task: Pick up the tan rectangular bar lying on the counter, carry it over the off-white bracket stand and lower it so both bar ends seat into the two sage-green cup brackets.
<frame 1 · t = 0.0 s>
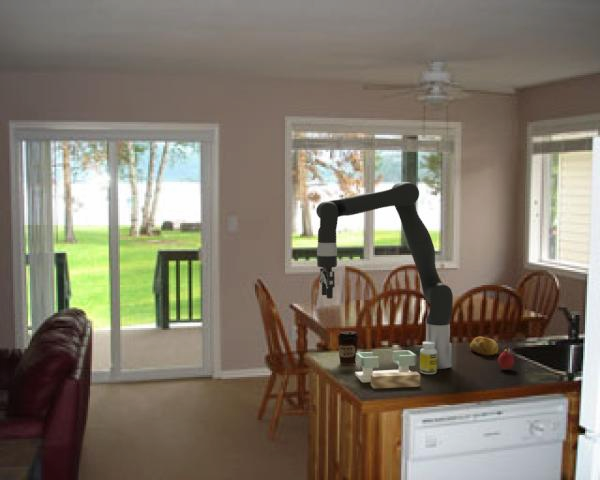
hand: (327, 296, 248), 29 cm above the counter, tool pointing down, fingers open, 8 cm apart
pill bottle: (428, 373, 249), on the counter
onion: (505, 370, 252), on the counter
bracket stand: (385, 377, 243), on the counter
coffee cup: (348, 364, 262), on the counter
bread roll: (483, 353, 280), on the counter
tan rectangular bar: (395, 386, 232), on the counter
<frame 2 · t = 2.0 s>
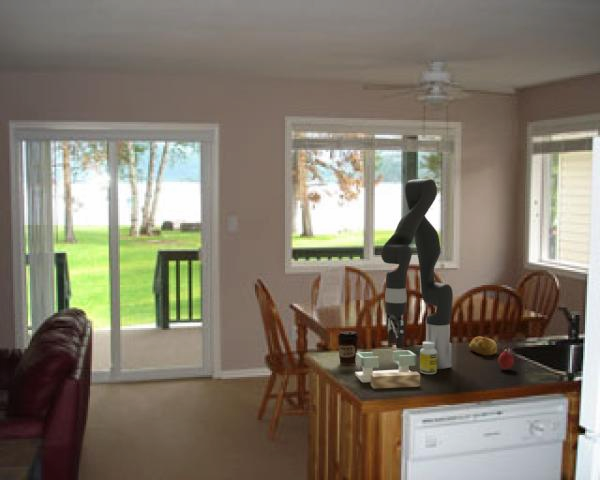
hand: (395, 345, 231), 14 cm above the counter, tool pointing down, fingers open, 8 cm apart
nothing on the counter moved.
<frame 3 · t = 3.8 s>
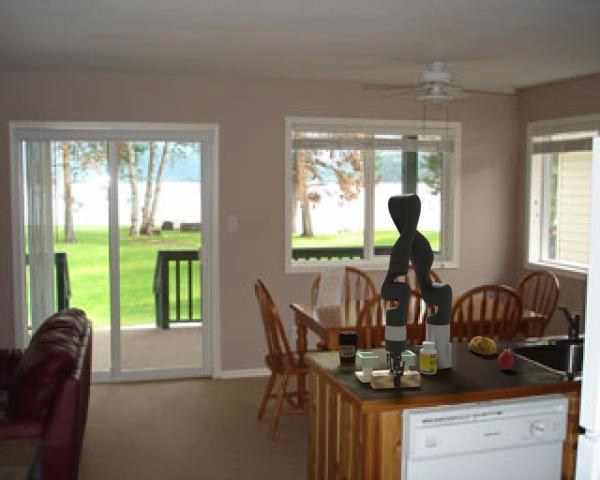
hand: (395, 384, 232), 0 cm above the counter, tool pointing down, fingers closed on tan rectangular bar, 4 cm apart
tan rectangular bar: (395, 385, 232), on the counter, touching gripper
everything else where it was.
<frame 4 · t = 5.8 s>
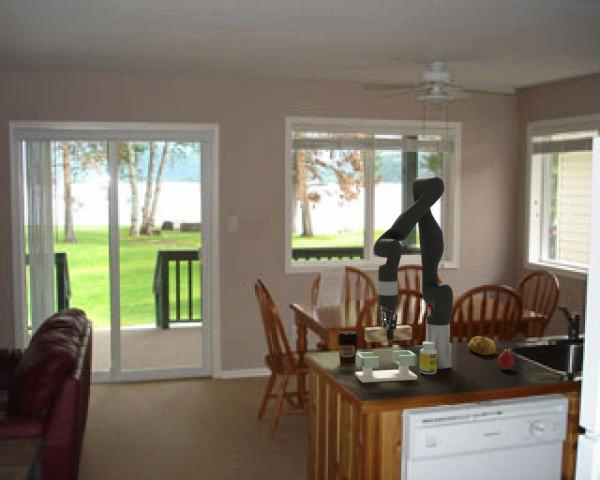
hand: (388, 338, 240), 15 cm above the counter, tool pointing down, fingers closed on tan rectangular bar, 4 cm apart
tan rectangular bar: (388, 339, 240), point 14 cm above the counter, touching gripper
everything else where it was.
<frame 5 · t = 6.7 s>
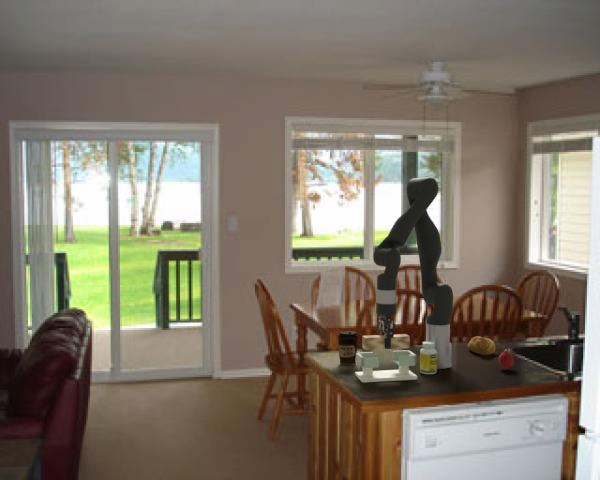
hand: (385, 346, 242), 11 cm above the counter, tool pointing down, fingers closed on tan rectangular bar, 4 cm apart
tan rectangular bar: (385, 347, 242), point 11 cm above the counter, touching gripper
when the fingers open (8 cm above the counter, at t = 7.7 s): tan rectangular bar drops 1 cm, resting on bracket stand.
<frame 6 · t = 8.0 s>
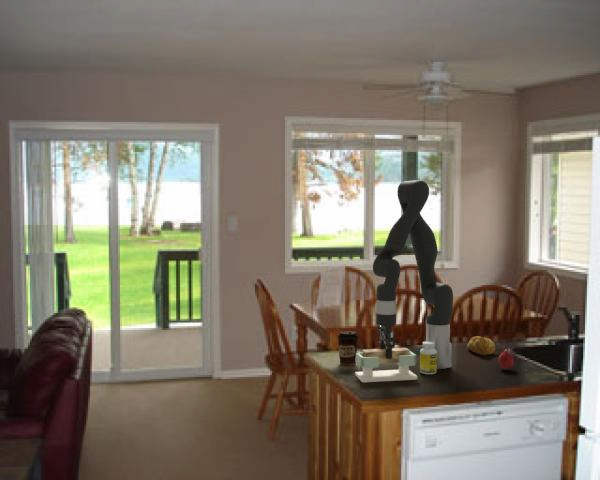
hand: (385, 356, 242), 8 cm above the counter, tool pointing down, fingers open, 6 cm apart
tan rectangular bar: (386, 361, 242), point 6 cm above the counter, touching bracket stand
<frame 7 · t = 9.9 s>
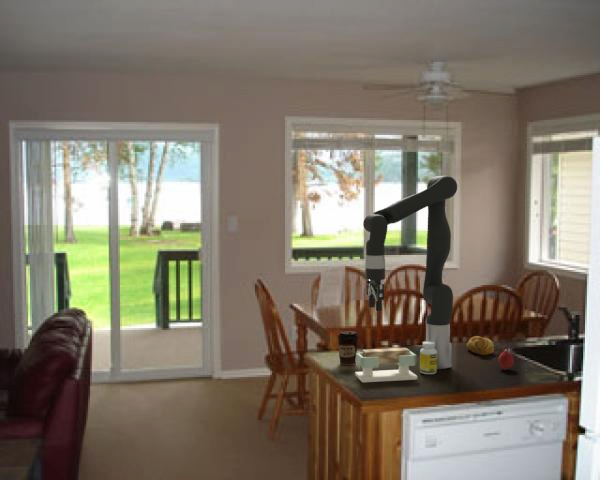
hand: (375, 308, 248), 24 cm above the counter, tool pointing down, fingers open, 8 cm apart
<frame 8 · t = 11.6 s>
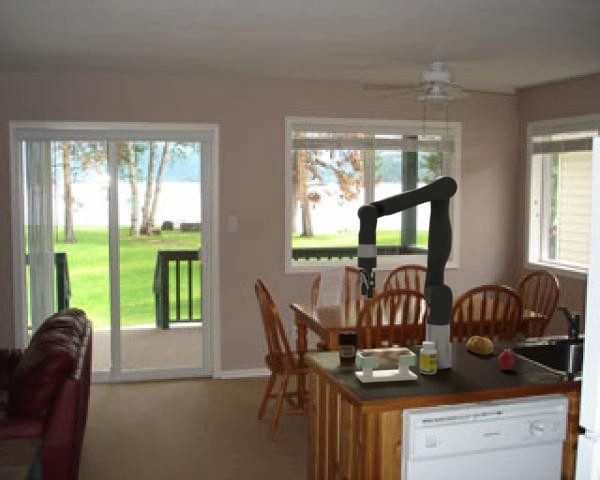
hand: (366, 296, 255), 28 cm above the counter, tool pointing down, fingers open, 8 cm apart
at the end: tan rectangular bar 0.1 cm off-centre on the bracket stand, point 5.8 cm above the bracket stand's base; tan rectangular bar tilted 0°; the gripper is holding nothing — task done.
